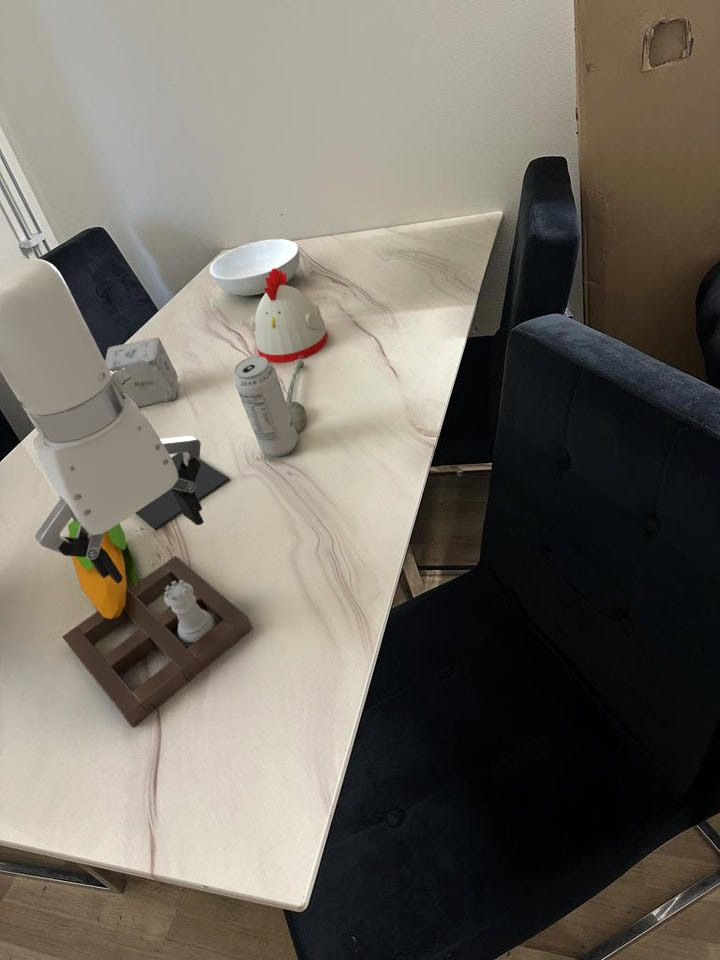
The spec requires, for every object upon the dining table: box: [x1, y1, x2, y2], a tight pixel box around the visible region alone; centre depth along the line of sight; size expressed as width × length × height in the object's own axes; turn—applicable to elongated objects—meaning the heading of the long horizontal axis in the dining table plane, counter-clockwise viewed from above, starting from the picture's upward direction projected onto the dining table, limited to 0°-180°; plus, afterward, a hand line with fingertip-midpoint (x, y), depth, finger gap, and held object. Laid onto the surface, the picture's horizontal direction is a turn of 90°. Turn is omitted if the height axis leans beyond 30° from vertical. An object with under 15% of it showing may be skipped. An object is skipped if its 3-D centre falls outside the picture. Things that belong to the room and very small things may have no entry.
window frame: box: [62, 555, 254, 728], centre depth 77 cm, size 16×16×2 cm
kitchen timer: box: [250, 268, 329, 364], centre depth 124 cm, size 14×14×15 cm
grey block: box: [104, 336, 179, 408], centre depth 119 cm, size 10×8×10 cm
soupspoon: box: [285, 359, 307, 434], centre depth 112 cm, size 22×3×7 cm
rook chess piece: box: [163, 580, 218, 648], centre depth 74 cm, size 4×4×8 cm
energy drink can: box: [233, 355, 299, 458], centre depth 98 cm, size 6×6×15 cm
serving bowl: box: [209, 238, 301, 297], centre depth 153 cm, size 21×21×7 cm
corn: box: [67, 519, 139, 619], centre depth 84 cm, size 7×8×20 cm
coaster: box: [135, 453, 231, 531], centre depth 100 cm, size 13×13×1 cm
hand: (155, 546), depth 68 cm, fingers open, 9 cm apart
